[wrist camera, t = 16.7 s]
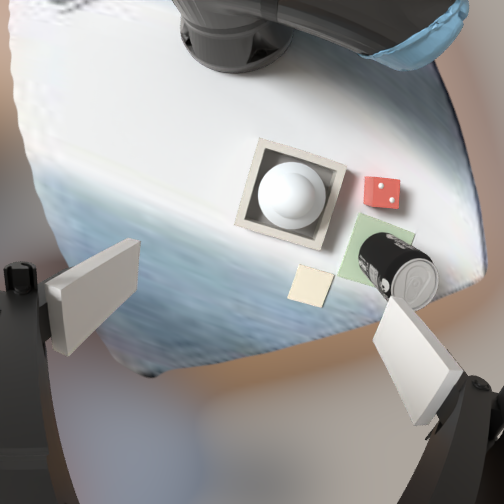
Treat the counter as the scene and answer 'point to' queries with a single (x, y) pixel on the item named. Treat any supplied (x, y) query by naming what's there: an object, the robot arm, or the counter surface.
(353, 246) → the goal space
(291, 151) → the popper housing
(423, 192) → the counter surface
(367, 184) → the red die
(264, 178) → the dome
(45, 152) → the counter surface
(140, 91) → the counter surface
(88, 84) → the counter surface
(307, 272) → the track space
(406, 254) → the beverage can
